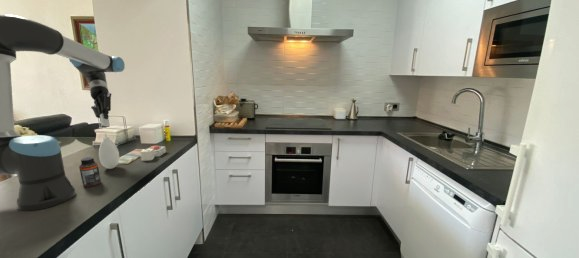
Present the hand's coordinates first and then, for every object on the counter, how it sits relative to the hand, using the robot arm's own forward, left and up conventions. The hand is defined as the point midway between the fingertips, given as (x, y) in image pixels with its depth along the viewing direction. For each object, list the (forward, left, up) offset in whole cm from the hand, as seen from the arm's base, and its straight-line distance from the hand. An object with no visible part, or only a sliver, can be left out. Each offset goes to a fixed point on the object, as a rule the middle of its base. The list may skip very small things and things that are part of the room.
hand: (105, 125), depth 116 cm
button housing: (+20, -11, -21) cm, 31 cm away
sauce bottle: (-1, 0, -21) cm, 22 cm away
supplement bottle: (-19, -4, -21) cm, 29 cm away
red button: (+20, -11, -20) cm, 30 cm away
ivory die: (+12, -11, -21) cm, 27 cm away
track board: (+16, 0, -21) cm, 27 cm away
